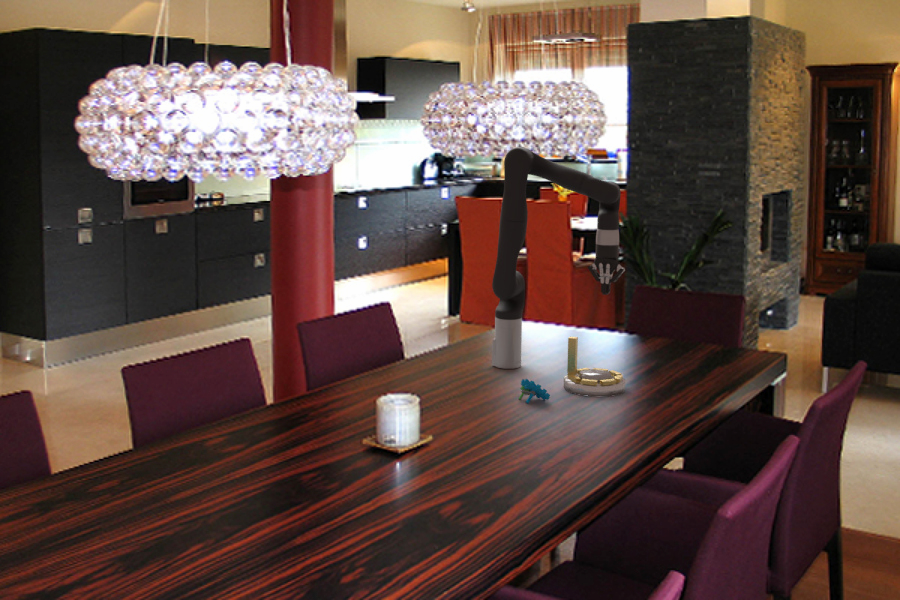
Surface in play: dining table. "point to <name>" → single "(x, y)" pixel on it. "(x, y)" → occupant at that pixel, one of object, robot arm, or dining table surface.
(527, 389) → the blue lobed toy
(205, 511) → the dining table surface
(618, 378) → the peg on ring base
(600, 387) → the grey round piece
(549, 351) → the dining table surface
